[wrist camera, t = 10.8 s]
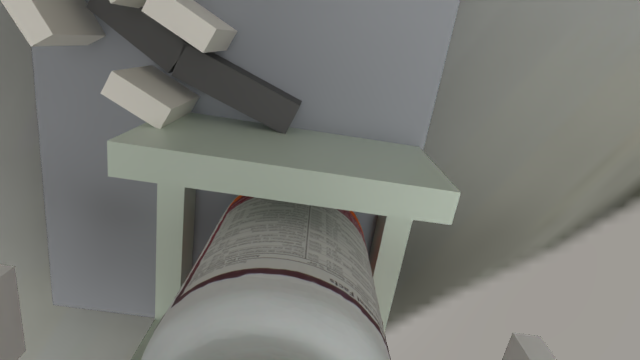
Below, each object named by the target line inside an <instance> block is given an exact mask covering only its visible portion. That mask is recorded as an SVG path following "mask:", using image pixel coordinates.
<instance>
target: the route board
mask: <svg viewBox="0 0 640 360" xmlns="http://www.w3.org/2000/svg"><path fill="white" fill-rule="evenodd" d="M1 2H2V3H3V5H4V6H5V8H6V9H7V11H8V12H9V14H10V16H11V17H12V19H13V20H14V22H15V23H16V25H17V26H18V28H19V29H20V31H21V32H22V34H23V35H24V37H25V38H26V40H27V41H28V43H29V45H30V46H31V48H32V60H33V72H34V84H35V96H36V108H37V120H38V131H39V143H40V155H41V167H42V179H43V191H44V203H45V215H46V227H47V239H48V251H49V263H50V275H51V287H52V299H53V305H58V306H66V307H74V308H82V309H90V310H97V311H105V312H113V313H121V314H129V315H137V316H145V317H152V318H155V286H156V229H157V183H151V182H144V181H137V180H130V179H123V178H116V177H109V176H108V161H107V141H108V140H110V139H112V138H114V137H117V136H119V135H121V134H123V133H125V132H127V131H129V130H132V129H134V128H136V127H138V126H140V125H142V124H144V123H149V124H150V125H152V126H153V127H155V128H159V129H161V128H163V127H165V126H166V125H168V124H170V123H172V122H174V121H176V120H177V119H179V118H181V117H183V116H185V115H187V114H188V113H190V112H191V113H198V114H205V115H211V116H218V117H225V118H231V119H238V120H245V121H251V122H258V123H262V124H264V125H266V126H268V127H270V128H272V129H273V130H275V131H277V132H279V133H283V134H286V132H287V130H288V128H289V127H291V128H298V129H304V130H311V131H318V132H324V133H331V134H337V135H344V136H351V137H357V138H364V139H371V140H377V141H384V142H391V143H397V144H404V145H410V146H417V147H420V148H421V149H422V151H423V150H424V146H425V142H426V137H427V133H428V129H429V125H430V121H431V117H432V113H433V109H434V105H435V101H436V97H437V93H438V89H439V85H440V81H441V76H442V72H443V68H444V64H445V60H446V56H447V52H448V48H449V44H450V40H451V36H452V32H453V28H454V24H455V20H456V15H457V11H458V7H459V3H460V0H1ZM237 196H238V195H235V194H228V193H221V192H214V191H207V190H200V189H196V198H195V218H194V237H193V256H192V268H193V266H194V264H195V262H196V261H197V259H198V257H199V255H200V254H201V252H202V250H203V249H204V247H205V245H206V243H207V241H208V239H209V238H210V236H211V234H212V233H213V231H214V229H215V227H216V225H217V224H218V222H219V220H220V219H221V217H222V215H223V214H224V212H225V210H226V209H227V208H228V206H229V205H230V204H231V202H232V201H233V200H234V199H235V198H236V197H237ZM354 212H355V211H354ZM355 214H356V216H357V218H358V220H359V222H360V225H361V228H362V231H363V235H364V239H365V243H366V248H367V252H368V256H369V255H370V251H371V246H372V242H373V237H374V232H375V228H376V223H377V219H378V215H376V214H369V213H362V212H355Z"/></svg>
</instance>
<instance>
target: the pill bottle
mask: <svg viewBox="0 0 640 360" xmlns="http://www.w3.org/2000/svg"><path fill="white" fill-rule="evenodd" d="M141 360H391V358H390V355H389V351H388V346H387V342H386V337H385V333H384V329H383V322H382V318H381V314H380V310H379V305H378V300H377V295H376V290H375V286H374V280H373V275H372V270H371V266H370V261H369V256H368V252H367V248H366V243H365V239H364V235H363V231H362V228H361V225H360V222H359V220H358V218H357V216H356V214H355V212H354V211H348V210H341V209H334V208H327V207H320V206H313V205H305V204H298V203H291V202H284V201H277V200H270V199H263V198H256V197H249V196H242V195H238V196H237V197H236V198H235V199H234V200H233V201H232V202H231V204H230V205H229V206H228V208H227V209H226V210H225V212H224V214H223V215H222V217H221V219H220V220H219V222H218V224H217V225H216V227H215V229H214V231H213V233H212V234H211V236H210V238H209V239H208V241H207V243H206V245H205V247H204V249H203V250H202V252H201V254H200V255H199V257H198V259H197V261H196V262H195V264H194V266H193V268H192V269H191V271H190V273H189V274H188V276H187V277H186V279H185V281H184V283H183V285H182V287H181V289H180V290H179V292H178V293H177V295H176V297H175V299H174V300H173V302H172V303H171V305H170V307H169V308H168V310H167V311H166V313H165V315H164V316H163V318H162V319H161V321H160V322H159V324H158V325H157V327H156V329H155V330H154V333H153V335H152V337H151V339H150V341H149V343H148V345H147V347H146V349H145V351H144V353H143V356H142V359H141Z"/></svg>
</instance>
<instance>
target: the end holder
mask: <svg viewBox="0 0 640 360" xmlns="http://www.w3.org/2000/svg"><path fill="white" fill-rule="evenodd" d="M107 161H108V176H109V177H116V178H123V179H130V180H137V181H144V182H151V183H157V229H156V286H155V320H154V322H153V324H152V325H151V327H150V329H149V330H148V332H147V334H146V335H145V337H144V339H143V340H142V342H141V344H140V345H139V347H138V349H137V350H136V352H135V354H134V355H133V357H132V359H131V360H141V359H142V356H143V353H144V351H145V349H146V347H147V345H148V343H149V341H150V339H151V337H152V335H153V333H154V330H155V329H156V327H157V325H158V324H159V322H160V321H161V319H162V318H163V316H164V315H165V313H166V311H167V310H168V308H169V307H170V305H171V303H172V302H173V300H174V299H175V297H176V295H177V293H178V292H179V290H180V289H181V287H182V285H183V283H184V281H185V279H186V277H187V276H188V274H189V273H190V271H191V269H192V256H193V237H194V218H195V198H196V189H200V190H207V191H214V192H221V193H228V194H235V195H242V196H249V197H256V198H263V199H270V200H277V201H284V202H291V203H298V204H305V205H313V206H320V207H327V208H334V209H341V210H348V211H355V212H362V213H369V214H376V215H378V219H377V223H376V228H375V232H374V237H373V242H372V246H371V251H370V255H369V261H370V266H371V270H372V275H373V280H374V286H375V290H376V295H377V300H378V305H379V310H380V314H381V318H382V322H383V329H384V333H385V329H386V325H387V321H388V317H389V313H390V309H391V305H392V301H393V297H394V293H395V289H396V285H397V281H398V277H399V273H400V269H401V265H402V261H403V257H404V253H405V249H406V245H407V241H408V237H409V233H410V229H411V226H412V222H413V220H418V221H425V222H432V223H439V224H446V225H452V222H453V218H454V215H455V211H456V208H457V204H458V201H459V197H460V194H461V192H460V191H459V190H458V189H457V188H456V187H455V186H454V185H453V184H452V182H451V181H450V180H449V179H448V178H447V177H446V176H445V175H444V174H443V173H442V171H441V170H440V169H439V168H438V167H437V166H436V165H435V164H434V163H433V162H432V160H431V159H430V158H429V157H428V156H427V155H426V154H425V153H424V152H423V151H422V149H421V148H420V147H417V146H410V145H404V144H397V143H391V142H384V141H377V140H371V139H364V138H357V137H351V136H344V135H337V134H331V133H324V132H318V131H311V130H304V129H298V128H291V127H289V128H288V130H287V132H286V134H283V133H279V132H277V131H275V130H273V129H272V128H270V127H268V126H266V125H264V124H262V123H258V122H251V121H245V120H238V119H231V118H225V117H218V116H211V115H205V114H198V113H191V112H190V113H188V114H187V115H185V116H183V117H181V118H179V119H177V120H176V121H174V122H172V123H170V124H168V125H166V126H165V127H163V128H161V129H159V128H155V127H153V126H152V125H150V124H149V123H144V124H142V125H140V126H138V127H136V128H134V129H132V130H129V131H127V132H125V133H123V134H121V135H119V136H117V137H114V138H112V139H110V140H108V141H107Z"/></svg>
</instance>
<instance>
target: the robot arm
mask: <svg viewBox="0 0 640 360" xmlns="http://www.w3.org/2000/svg"><path fill="white" fill-rule="evenodd" d="M25 351H26V348H25V341H24V333H23V326H22V318H21V310H20V303H19V295H18V288H17V280H16V272H15V266H9V265H2V264H0V360H17V359H18V358H19V357H20V356H21V355H22V354H23V353H24V352H25ZM502 360H557V359H556V358H555V356H554V355H553V353H552V352H551V350H550V349H549V348H548V346H547V345H546V344H545V342H544V341H543V339H542V338H541V337H540V336H535V335H527V334H520V333H512V336H511V338H510V341H509V343H508V346H507V348H506V351H505V353H504V356H503V358H502Z"/></svg>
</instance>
